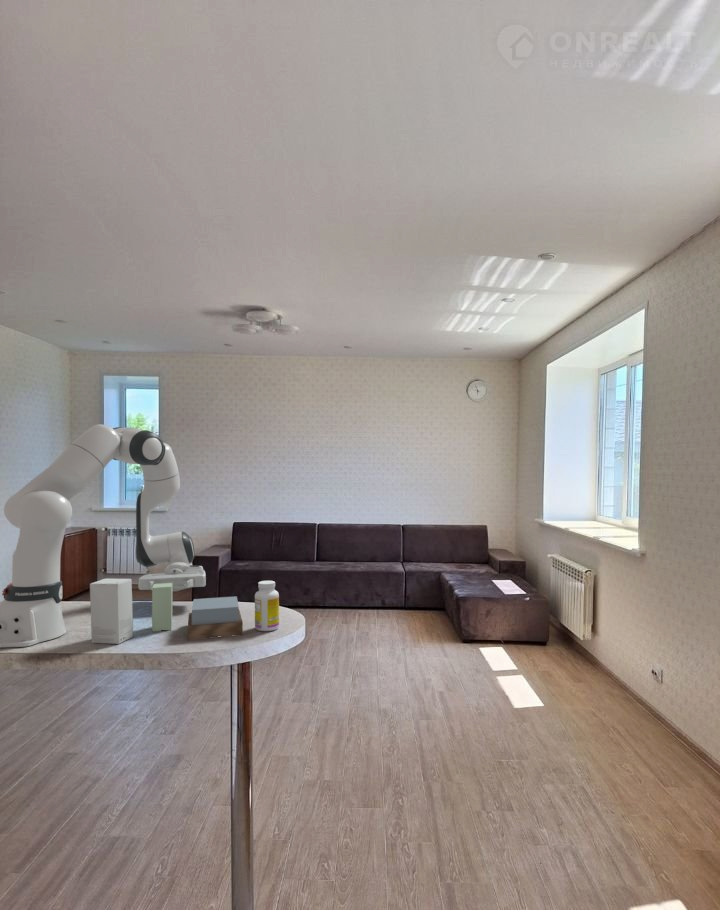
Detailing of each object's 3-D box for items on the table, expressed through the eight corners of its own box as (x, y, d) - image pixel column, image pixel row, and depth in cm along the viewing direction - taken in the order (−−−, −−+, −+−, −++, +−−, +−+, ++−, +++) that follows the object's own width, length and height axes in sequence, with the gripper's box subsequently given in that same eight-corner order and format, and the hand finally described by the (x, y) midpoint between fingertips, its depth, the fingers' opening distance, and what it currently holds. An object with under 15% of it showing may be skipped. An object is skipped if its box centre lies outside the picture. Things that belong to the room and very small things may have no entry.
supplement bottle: (281, 625, 152) (281, 579, 152) (275, 632, 145) (275, 585, 146) (258, 624, 153) (258, 579, 153) (251, 631, 146) (251, 584, 147)
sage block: (152, 631, 147) (152, 587, 147) (153, 626, 151) (153, 584, 152) (171, 630, 148) (171, 586, 148) (172, 625, 153) (172, 582, 153)
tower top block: (191, 625, 141) (191, 610, 141) (193, 613, 152) (193, 599, 152) (238, 621, 144) (238, 606, 144) (236, 610, 155) (236, 596, 156)
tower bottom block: (187, 642, 139) (187, 626, 139) (188, 626, 153) (188, 612, 153) (242, 637, 143) (242, 622, 143) (238, 622, 157) (238, 608, 157)
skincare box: (133, 637, 142) (134, 578, 142) (117, 645, 135) (117, 583, 136) (106, 635, 144) (106, 577, 144) (88, 643, 137) (89, 582, 138)
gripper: (142, 568, 174) (133, 577, 160) (207, 565, 178) (204, 574, 165) (142, 588, 174) (133, 598, 160) (207, 584, 178) (204, 594, 164)
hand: (169, 586), depth 162 cm, fingers open, 8 cm apart
